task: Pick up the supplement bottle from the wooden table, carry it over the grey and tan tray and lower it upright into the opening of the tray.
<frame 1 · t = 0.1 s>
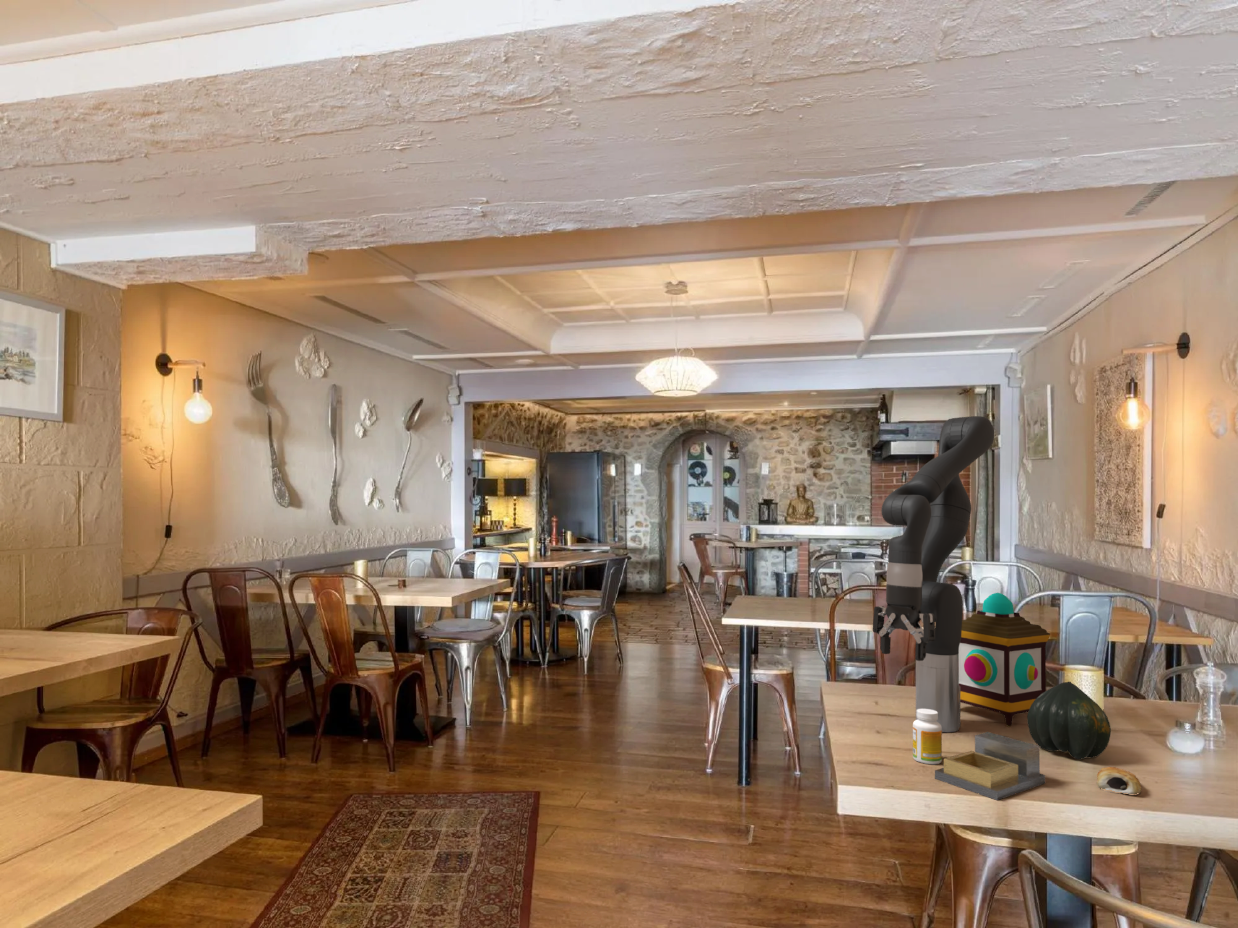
hand: (902, 656, 167), 17 cm above the table, tool pointing down, fingers open, 8 cm apart
supplement bottle: (927, 761, 150), on the table
pastry: (1117, 789, 138), on the table
decorative lantern: (998, 715, 186), on the table
squash: (1067, 753, 158), on the table
grey and tan tray: (989, 780, 140), on the table
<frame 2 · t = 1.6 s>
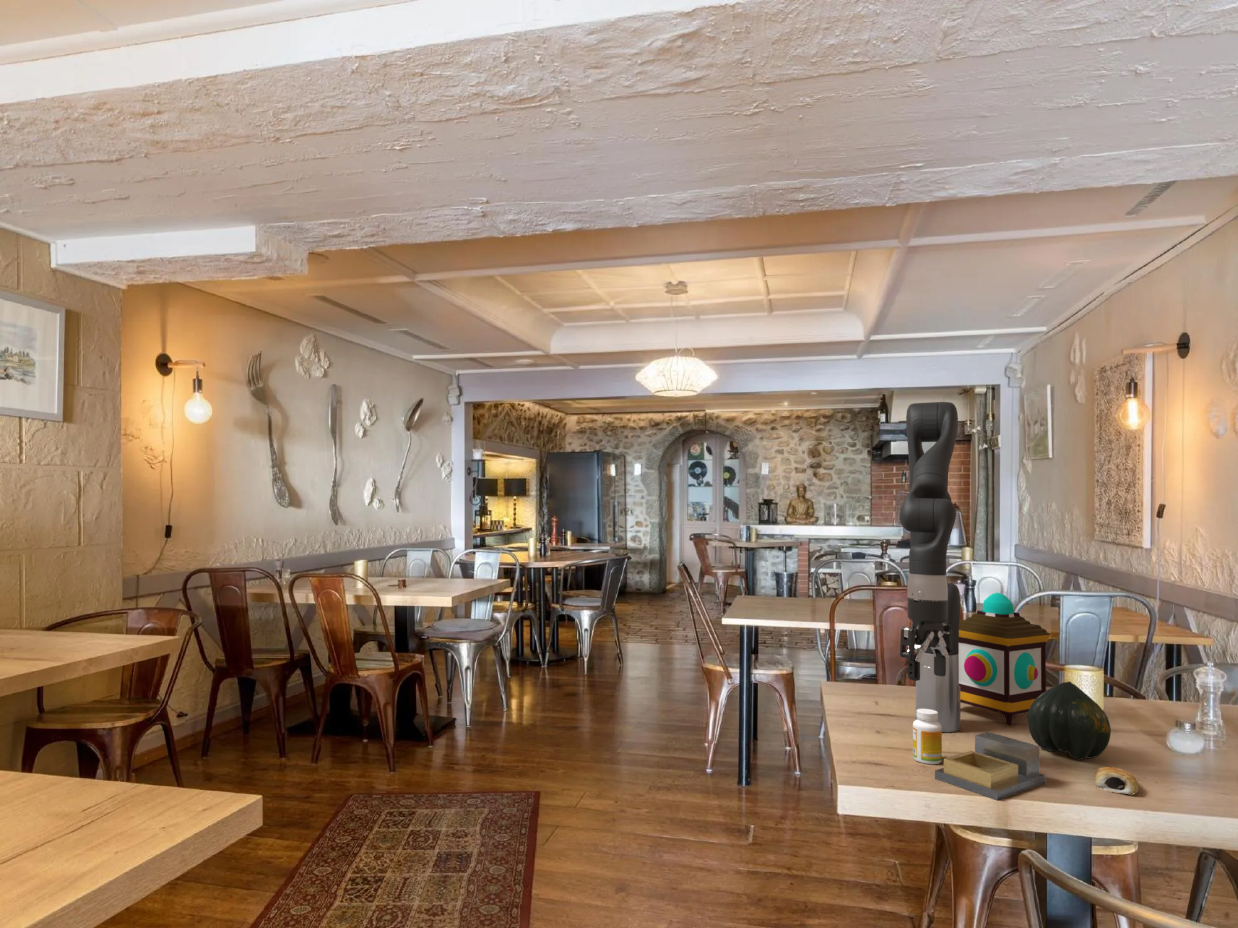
hand: (927, 677, 151), 16 cm above the table, tool pointing down, fingers open, 8 cm apart
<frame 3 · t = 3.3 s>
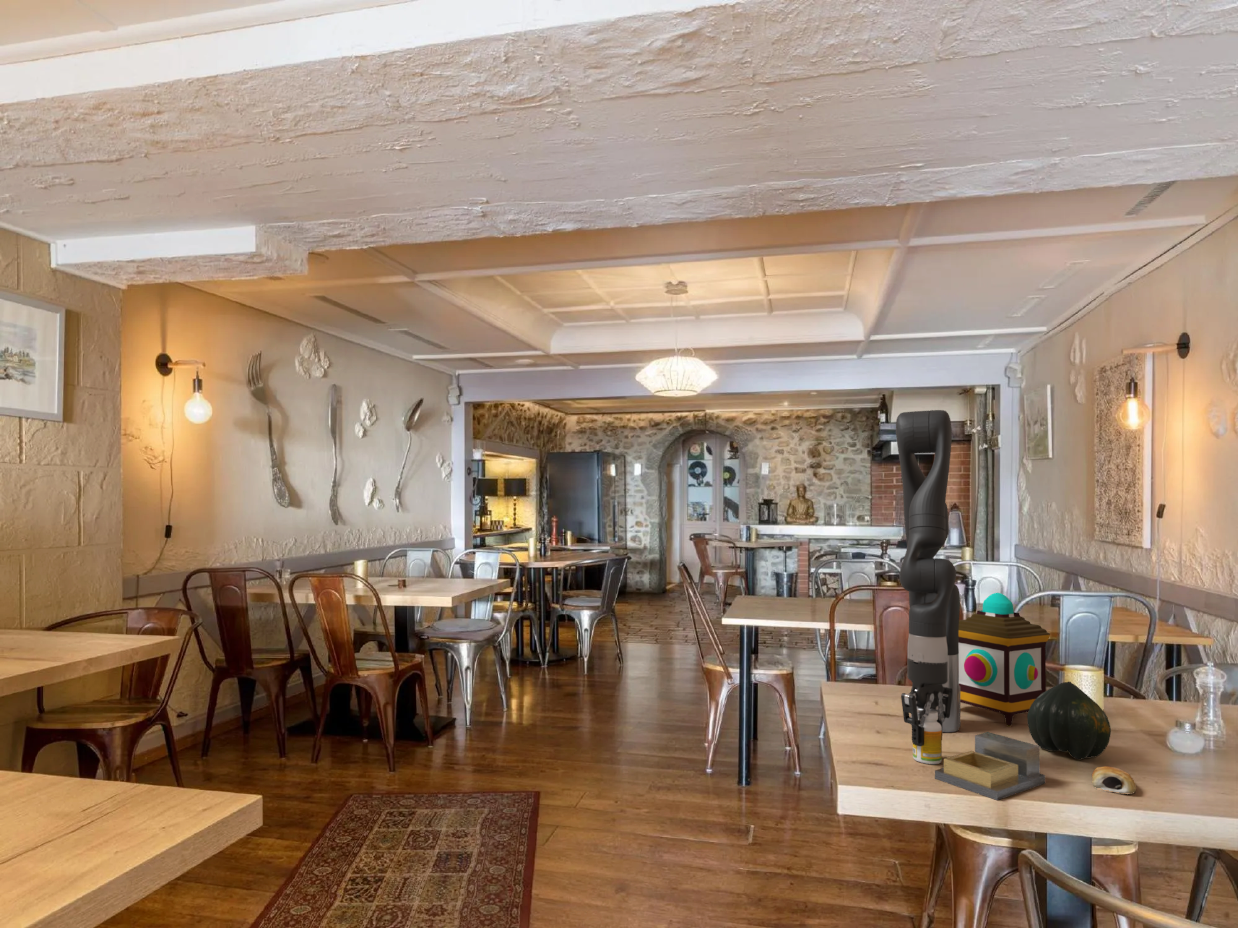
hand: (927, 742, 151), 4 cm above the table, tool pointing down, fingers closed on supplement bottle, 5 cm apart
supplement bottle: (927, 761, 150), on the table, touching gripper
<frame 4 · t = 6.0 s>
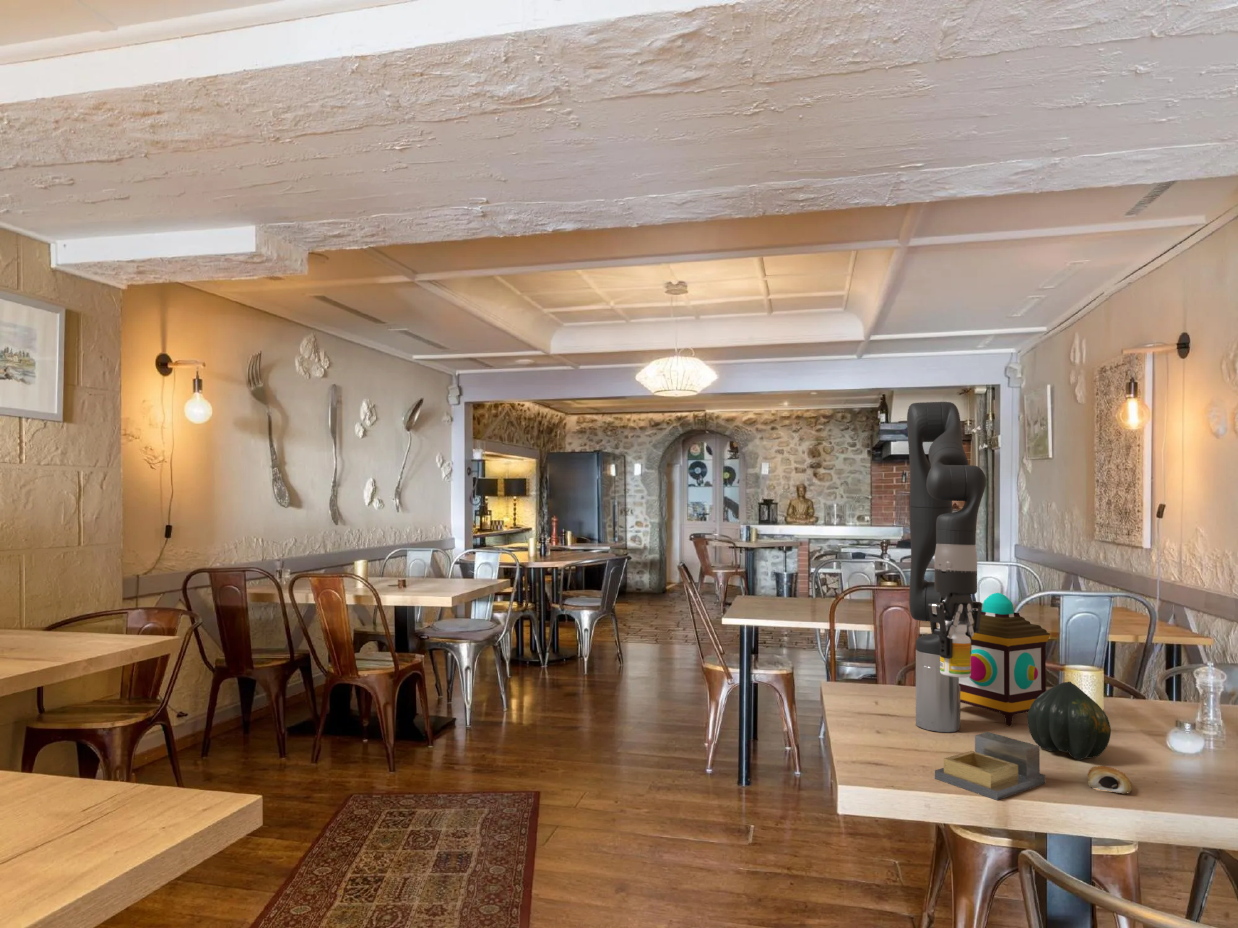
hand: (955, 656, 144), 22 cm above the table, tool pointing down, fingers closed on supplement bottle, 5 cm apart
supplement bottle: (955, 676, 144), point 18 cm above the table, touching gripper
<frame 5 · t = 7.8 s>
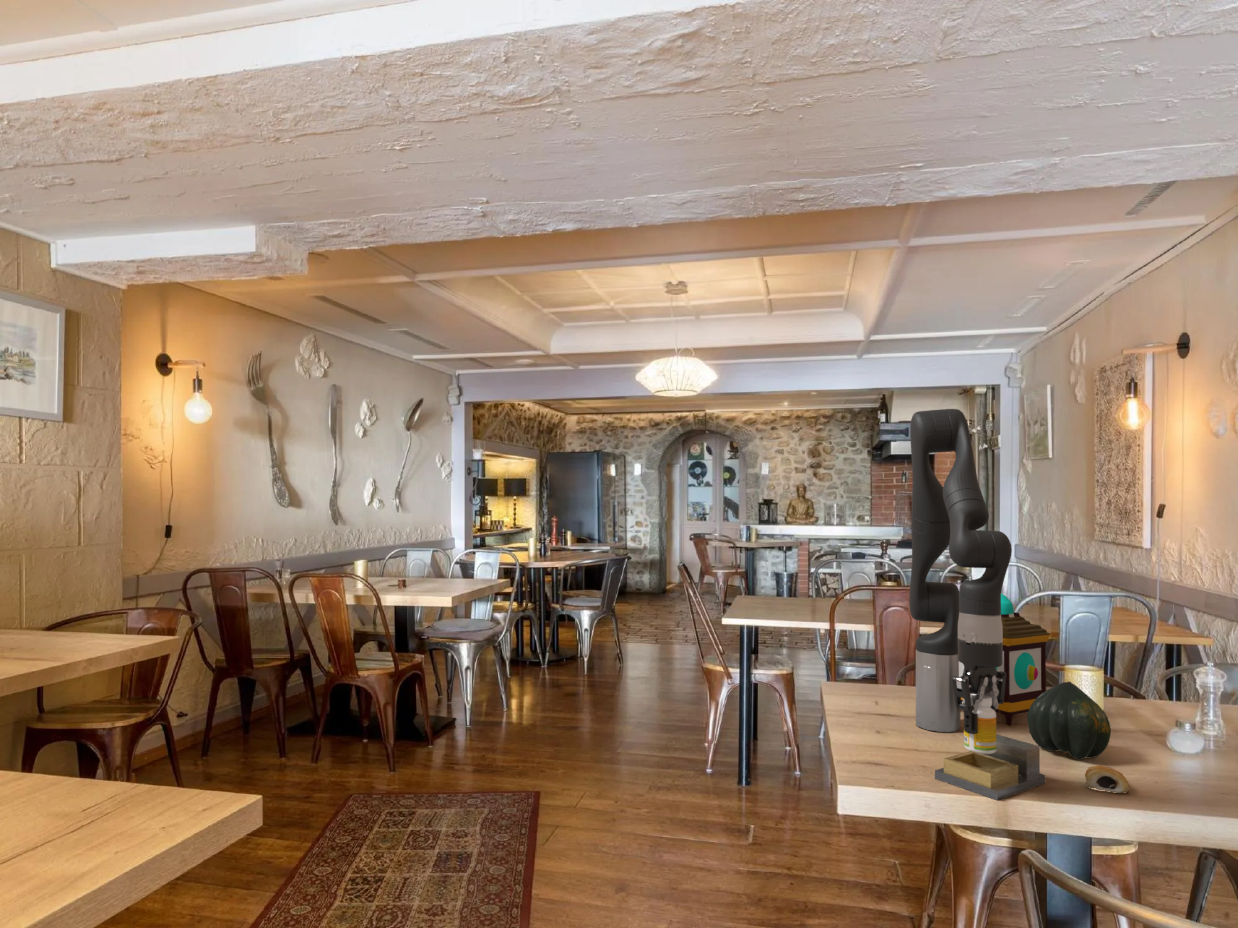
hand: (980, 730, 139), 10 cm above the table, tool pointing down, fingers closed on supplement bottle, 5 cm apart
supplement bottle: (980, 750, 138), point 6 cm above the table, touching gripper
when the fingers open (6 cm above the table, at t = 9.1 s): supplement bottle stays where it is, resting on grey and tan tray.
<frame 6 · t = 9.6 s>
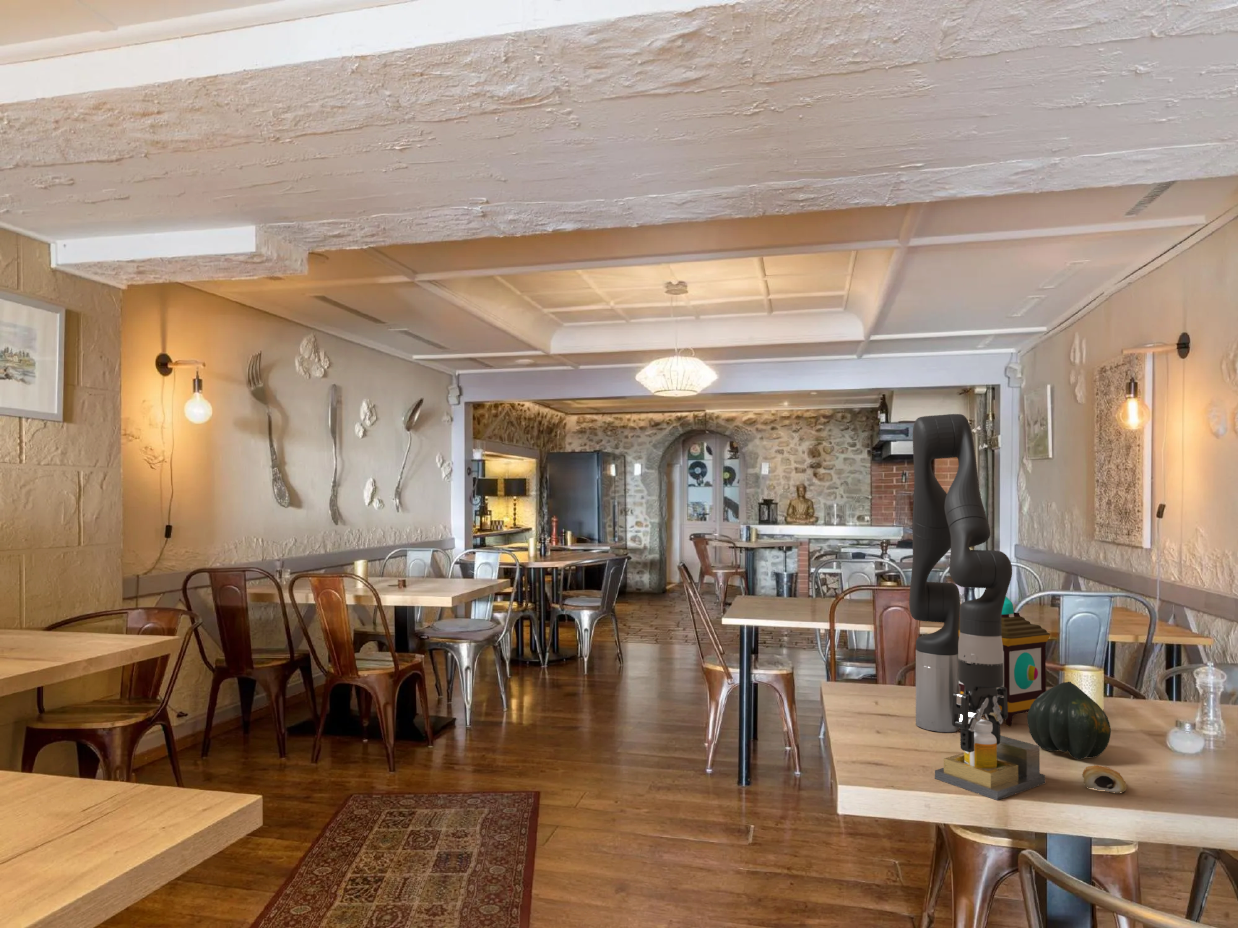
hand: (980, 747, 138), 7 cm above the table, tool pointing down, fingers open, 8 cm apart
supplement bottle: (980, 776, 138), point 1 cm above the table, touching grey and tan tray
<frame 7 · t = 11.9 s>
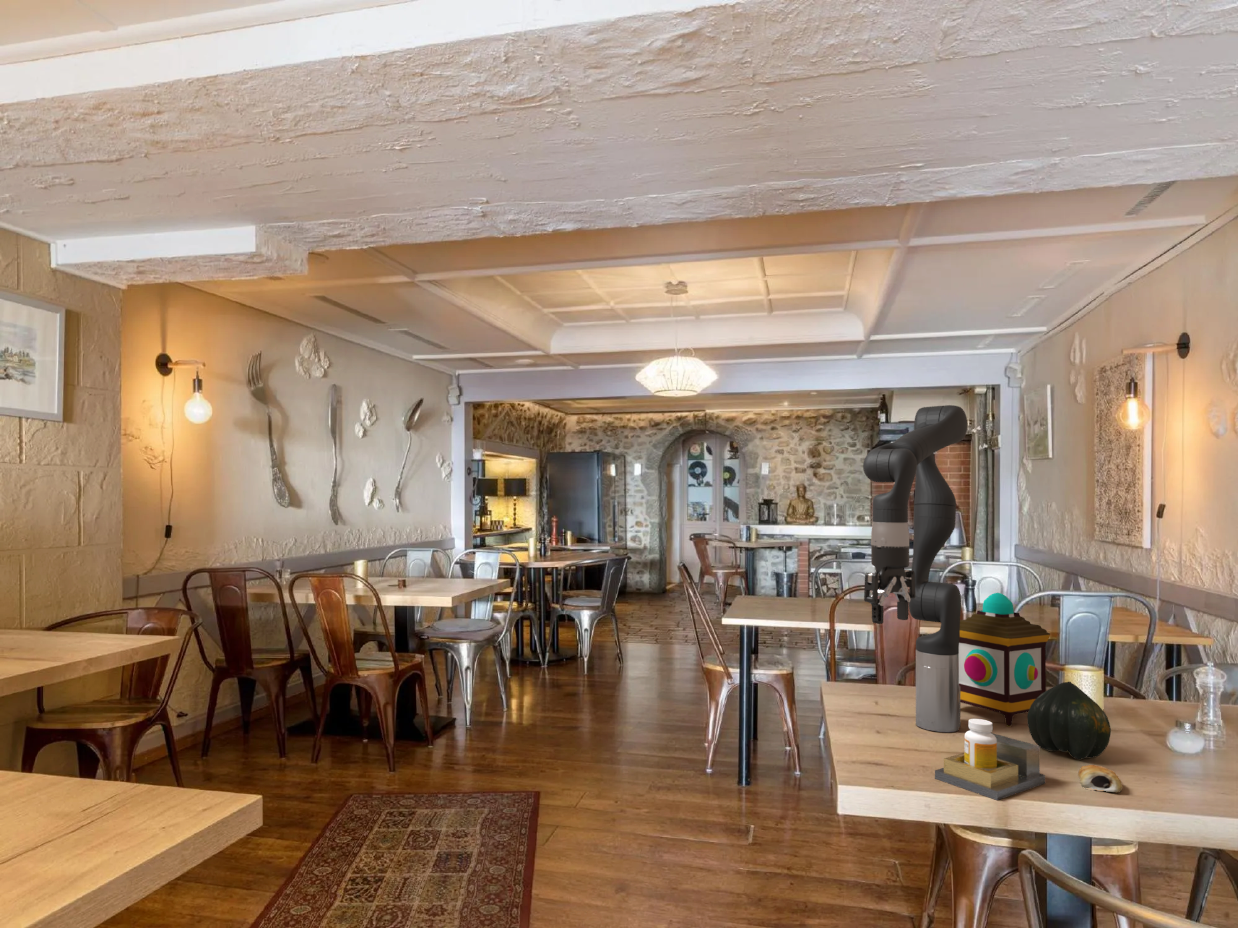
hand: (890, 621, 157), 27 cm above the table, tool pointing down, fingers open, 8 cm apart
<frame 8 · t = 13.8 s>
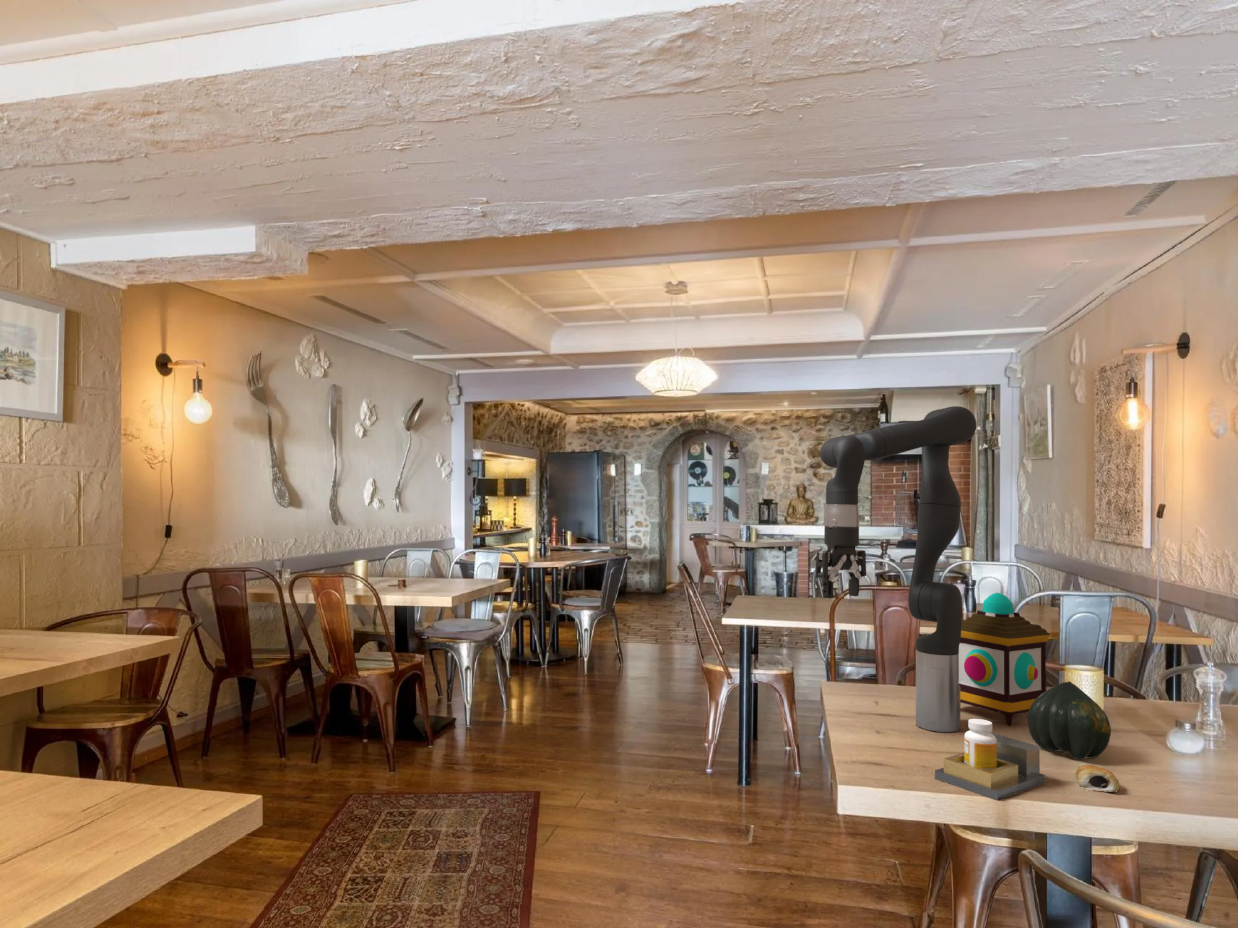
hand: (841, 596, 169), 30 cm above the table, tool pointing down, fingers open, 8 cm apart
at the end: supplement bottle 0.1 cm from the target spot on the grey and tan tray, point 1.3 cm above the grey and tan tray's base; supplement bottle tilted 0°; the gripper is holding nothing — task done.
